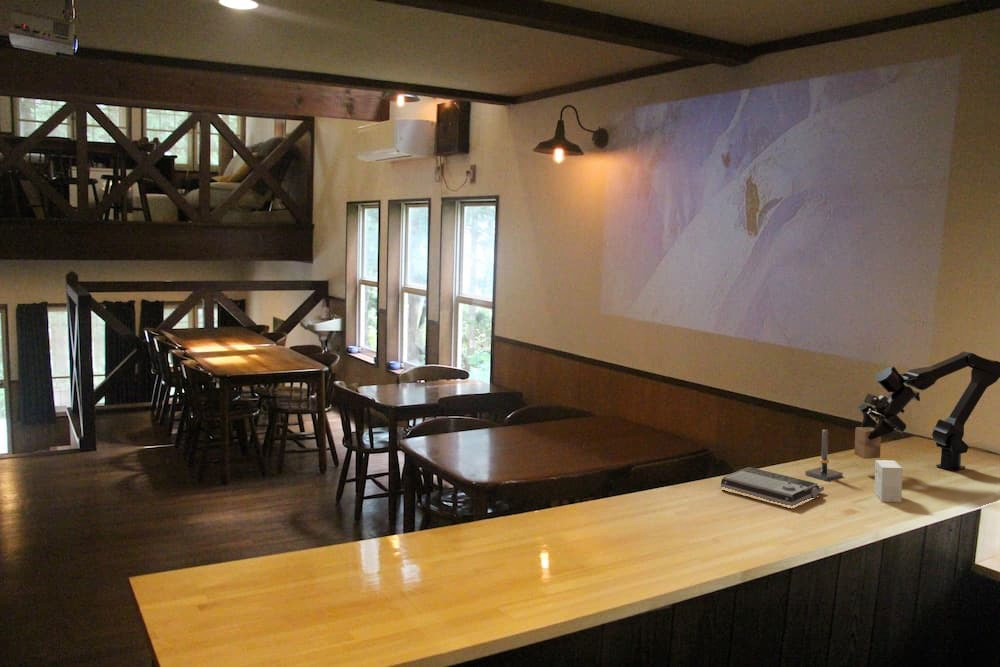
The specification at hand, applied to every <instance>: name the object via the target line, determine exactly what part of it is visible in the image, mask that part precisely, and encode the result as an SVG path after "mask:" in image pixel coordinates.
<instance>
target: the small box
mask: <svg viewBox="0 0 1000 667" xmlns="http://www.w3.org/2000/svg"><path fill="white" fill-rule="evenodd" d="M902 492H903V467H902V466H901V465H900V464H899V463H898V462H897V461H896V460H884V459H883V460H882V459H877V460H875V464H874V494H875V496H876V497H877V496H878V497H877V498H878V499H879V500H880V501H881V502H883V503H902V495H903V494H902Z"/></svg>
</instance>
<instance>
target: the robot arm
mask: <svg viewBox="0 0 1000 667" xmlns="http://www.w3.org/2000/svg"><path fill="white" fill-rule="evenodd" d="M964 368H970V369H971V371H970V372H971V374H970V377H971V378H970V382H969V384H968V385H967V387H966V388H965V390H964V392H963V393H962V395H961V397H960V398H959V400H958V401H957V403H956V404H955V407H954V408H953V410H952V411H951V413H950V415H949V416H948V417H947V418H946V419H944V420H943V419H942V418H941V419H940V418H939V419H938V420H937V422H936V425H935V426H934V427H932V430H933V431H932V434H931V436H932V439H933V441H934V443H935V446H936V447H938V448H941V450H940V451H941V452H940V454H941V455H940V463H939V464H936V465H935V467H936V466H937V467H936V468H939V467H941V468H940V469H943V468H944V469H945V470H948V471H951V472H952V471H953V472H958V471H960V470H963V469H965V468H966V465H961V464H962V454H964V453H965V454H966V453H968V450H969V445H968V444H967V443H966V442H965V441H964V440H963V438H964V435H965V424H966V423H967V421H968V420H969V417H970V416H971V415H972V413H973V411H974V410H975V408H976V407H977V404H978V403H979V402H980V400H981V398H982V396H983V395H984V393H985V391H986V390H987V388H989V387H991V386H992V385H994V384H995V383H997V382H998V381H999V380H1000V361H998V360H995V359H989V358H985V357H981V356H979V355H977V354H975V353H973V352H969V351H966V350H965V351H961V352H960V353H958V354H956V355H953V356H951V357H949V358H947V359H944V360H942V361H940V362H937V363H934V364H933V365H931V366H926V367H917V368H913V369H910V370H907V371H906V372H905V373H899V371H898V370H897V369H896V368H895V367H894V366H893V365H889V366H888V367H886V368H884V369H882V370H880V371H878V372H877V373H876V374H875V377H874V378H875V381H876V382H877V383H878V384H879V385H880V386H881V387H882V389H884V391H886V392H887V393H890V394H889V396H884V395H882V394H881V395H879V396H877V395H875V394H871V393H867V394H866V396H865V399H863V403H861V404H860V405H859V406H858V407H857V408H858V410H859V411H860V412H861V413H862V416H863V417H862V419H863V420H862V421H861V423H860V424H861V425H860V426H859V427H873V428H875V429H874V430H873V431H872V432H871V434H870V435H869V437H868V438H869V439H870V440H872V439H874V438H877V437H880V436H881V437H883V436H884V435H888V434H891V433H896V432H899V433H902V434H903V433H904V432H905V431H906V429H907V424H906V423H905V422H904V421H903V419H901V418H900V417H899V416H898V415H899V414H900V413H901V414H904V413H905V412H906V411H905V410H904V409H905V408H906V406H907V405H908V404H909V403H910V402H911V401H913V400H914V401H917V402H920V401H921V397H920V392H919V391H924V390H927V389H929V388H931V387H932V386H934V385H935V383H937V381H938V380H940V379H941V378H943V377H946V376H948V375H950V374H954V373H955V372H957V371H960V370H963V369H964ZM914 389H916V390H919V391H916V390H915V391H914ZM877 421H878V422H877ZM944 469H943V470H944Z"/></svg>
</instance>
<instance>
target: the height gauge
mask: <svg viewBox="0 0 1000 667" xmlns="http://www.w3.org/2000/svg"><path fill="white" fill-rule="evenodd" d="M828 446H829V430H828V429H822V430H821V456H820V457H821V458H819V462H820V464H821V465H820V466H819V467H816V468H813V469H812V468H811V469H808V470H805V476H808V477H812V478H816V479H818V480H821V481H826V482H827V481H828V480H829V481H832V480H834V479H838V478H841V477H843V472H841V471H839V470H838V471H837V470H834V469H830V468H828V463H829V462H830V460H829V458H828V453H829V449H828Z"/></svg>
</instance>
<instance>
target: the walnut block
mask: <svg viewBox="0 0 1000 667" xmlns="http://www.w3.org/2000/svg"><path fill="white" fill-rule="evenodd" d="M854 428H855V430H854V431H855V432H854V455H856V456H858V457H859V458H861V459H864V460H866V459H869V460H870V459H879V458H881V446H882V445H881V442H882V441H881V440H882V436H880V437H877V438H874V439H872V440H870V439H869V438H868V437H869V435H870V434H871V432H872V431H873V430H874V429H875V427H860V426H857V427H854Z"/></svg>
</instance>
